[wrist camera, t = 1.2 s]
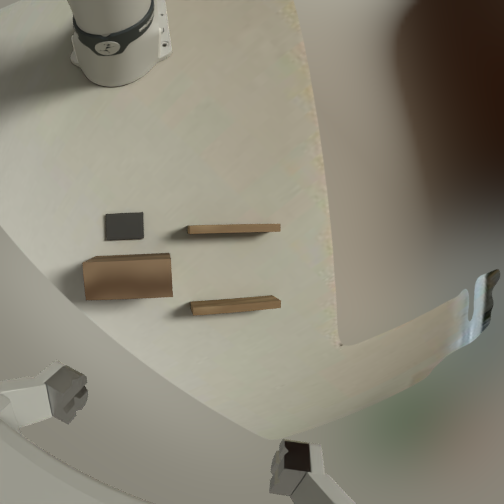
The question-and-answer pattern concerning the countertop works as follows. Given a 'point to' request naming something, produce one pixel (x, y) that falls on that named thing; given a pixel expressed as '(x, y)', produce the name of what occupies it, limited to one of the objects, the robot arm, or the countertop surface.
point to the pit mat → (124, 226)
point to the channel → (236, 303)
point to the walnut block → (128, 276)
